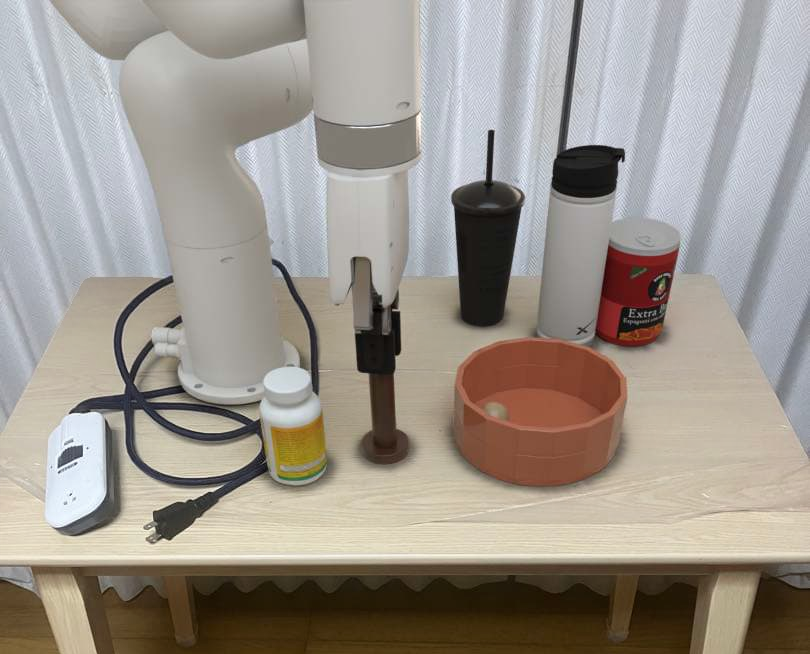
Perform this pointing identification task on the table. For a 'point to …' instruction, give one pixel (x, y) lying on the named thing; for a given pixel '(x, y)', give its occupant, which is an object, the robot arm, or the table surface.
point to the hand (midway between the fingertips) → (379, 361)
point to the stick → (383, 421)
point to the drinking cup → (485, 243)
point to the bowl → (539, 410)
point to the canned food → (637, 280)
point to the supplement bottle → (292, 427)
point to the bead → (496, 410)
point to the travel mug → (577, 241)
